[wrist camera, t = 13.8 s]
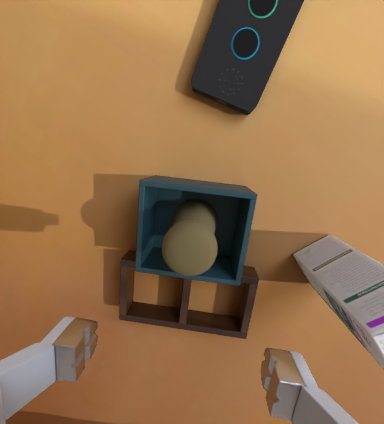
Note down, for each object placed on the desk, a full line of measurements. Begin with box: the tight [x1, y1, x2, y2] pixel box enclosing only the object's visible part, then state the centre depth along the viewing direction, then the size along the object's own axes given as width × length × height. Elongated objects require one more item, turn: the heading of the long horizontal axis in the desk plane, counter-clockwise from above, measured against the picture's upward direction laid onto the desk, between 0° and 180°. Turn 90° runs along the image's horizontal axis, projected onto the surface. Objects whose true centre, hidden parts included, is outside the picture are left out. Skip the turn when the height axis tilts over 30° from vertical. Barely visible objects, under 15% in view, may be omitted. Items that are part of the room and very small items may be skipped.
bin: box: [135, 175, 257, 286], centre depth 26 cm, size 11×12×7 cm
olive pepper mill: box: [162, 199, 218, 276], centre depth 23 cm, size 6×6×11 cm
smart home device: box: [191, 0, 304, 115], centre depth 22 cm, size 8×2×20 cm
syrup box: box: [293, 235, 384, 369], centre depth 22 cm, size 6×6×14 cm
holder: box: [119, 250, 259, 339], centre depth 30 cm, size 10×19×3 cm, turn 84°
